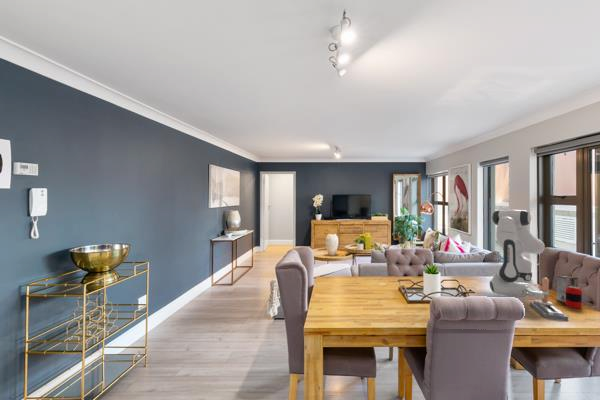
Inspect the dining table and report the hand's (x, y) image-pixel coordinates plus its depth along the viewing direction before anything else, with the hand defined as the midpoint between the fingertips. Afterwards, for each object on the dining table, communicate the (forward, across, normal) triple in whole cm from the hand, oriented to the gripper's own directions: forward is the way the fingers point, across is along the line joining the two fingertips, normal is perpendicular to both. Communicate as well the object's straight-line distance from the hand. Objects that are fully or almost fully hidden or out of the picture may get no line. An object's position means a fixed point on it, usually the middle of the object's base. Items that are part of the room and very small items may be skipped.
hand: (547, 291), depth 189 cm
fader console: (-1, -4, +11) cm, 12 cm away
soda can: (+19, +14, +11) cm, 26 cm away
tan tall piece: (-1, 0, +9) cm, 9 cm away
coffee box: (+20, +25, +11) cm, 34 cm away
